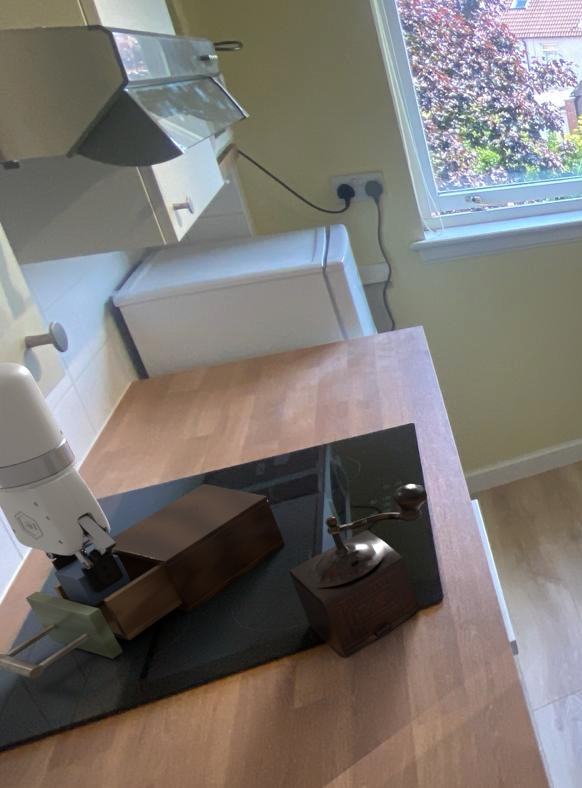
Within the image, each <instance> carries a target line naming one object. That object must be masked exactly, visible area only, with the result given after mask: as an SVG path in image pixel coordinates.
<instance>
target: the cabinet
mask: <svg viewBox="0 0 582 788" xmlns="http://www.w3.org/2000/svg"><path fill="white" fill-rule="evenodd" d="M111 538H112V539H113V540H114V541H115V543H116V546H115V547H114V548H113V549H112V551H113V552H114V553H118V554H122V555H126V556H130V557H134V558H138V559H142V560H146V561H151V562H155V563H159V564H163V565H164V567H165V569H166V571H167V573H168V575H169V577H170V579H171V581H172V583H173V585H174V587H175V589H176V591H177V593H178V595H179V597H180V599H181V601H182V604H180V605H179V606H177V607H176V608H175V610H179V611H182V612H186V613H190V614H191V613H193V612H194V611H196V610H197V609H198V608H199V607H201V606H202V605H203V604H205V603H207V602H208V601H210V600H211V599H212V598H213V597H214V596H216V595H217V594H219V593H220V592H222V591H223V590H224V589H226V588H227V587H228V586H230V585H231V584H232V583H234V582H236V581H237V580H238V579H239V578H241V577H242V576H243V575H245V574H246V573H248V572H249V571H250V570H252V569H254V568H255V567H256V566H257V565H259V564H260V563H261V562H263V561H264V560H265V559H267V558H269V557H270V556H271V555H272V554H274V553H275V552H277V551H278V550H280V549H281V548H283V546H285V545H286V542H285V540H284V538H283V535H282V533H281V530H280V528H279V525H278V523H277V520H276V517H275V515H274V512H273V510H272V508H271V505H270V503H269V500H268V498H267V496H266V495H261V494H256V493H251V492H246V491H241V490H237V489H230V488H226V487H221V486H216V485H212V484H206V483H203V484H202V485H200V486H198V487H197V488H194V489H193V490H190V492H188V493H186V494H184V495H182V496H181V497H179V498H177V499H175V500H174V501H172V502H170V503H169V504H167V505H166V506H164V507H162V508H160V509H158V510H157V511H155V512H153V513H152V514H150V515H148V516H146V517H145V518H143V519H141V520H139V521H138V522H136V523H134V524H133V525H131V526H129V527H128V528H126V529H125V530H122V531H121V532H119V533H117V534H116V535H114V536H112V537H111Z"/></svg>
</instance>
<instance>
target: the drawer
mask: <svg viewBox="0 0 582 788" xmlns="http://www.w3.org/2000/svg"><path fill="white" fill-rule="evenodd" d="M113 553H114V552H113ZM113 555H117V556H118V558H119V559H120V561H121V563H122V565H123V567H124V569H125V571H126V573H127V575H128V576H129V578H130V580H131V582H130V583H129V584H127V585H126V586H124V587H123V588H121V589H120V590H118V591H116V592H115V593H113V594H112V595H110V596H109V597H107V598H106V599H104V600H103V601H101V602H100V603H98V604H97V605H95V606H91V605H87V604H84V603H80V602H76V601H73V600H70V599H69V598H68V596H67V594H66V593H65V591H64V589H63V587H62V586H61V584H60V582H58V583H56V584H55V585H54V586H53V589H54V590H55V593H57V596H54V595H51V594H47V593H44V592H40V591H35V592H33V593H31V594H30V595H27V596H26V597H25V599H26V601H27V603H28V604H29V607H30V608H31V610H32V611H33V613H34V614H35V616H36V618H37V619H38V621H39V623H40V624H41V626H42V628H43V629H42V630H41V631H39V632H37V633H36V634H34V635H32V636H31V637H30V638H28V639H26V640H25V641H23V642H21V643H20V644H18V645H17V646H15V647H13V648H12V649H11V650H9V651H8V652H6V653H5V654H4V653H0V669H1V670H4V671H7V672H11V673H13V674H16V675H20V676H23V677H26V678H29V679H37V678H39V677H41V676H42V675H43V673H44V671H45V669H46V668H48V667H49V666H50V665H52V664H53V663H55V662H56V661H58V660H59V659H60V658H62V657H64V656H65V655H67V654H68V653H70V652H71V651H73V650H74V649H79V650H83V651H86V652H90V653H93V654H96V655H100V656H103V657H107V658H109V659H114V658H116V657H117V656H119V655H120V654H122V653H124V652H123V649H122V647H121V645H120V643H119V642H118V640H117V639H116V638H119V639H122V640H126V641H131V640H132V639H133V638H135V637H137V636H138V635H139V634H141V633H142V632H143V631H145V630H146V629H148V628H149V627H151V626H152V625H154V624H155V623H156V622H158V621H159V620H161V619H162V618H163V617H165V616H166V615H168V614H170V612H172V611H174V609H175V608H176V607H177V606H179V605H180V604H182V601H181V599H180V597H179V595H178V593H177V591H176V589H175V587H174V585H173V583H172V581H171V579H170V577H169V575H168V573H167V571H166V569H165V567H164V565H163V564H159V563H155V562H151V561H146V560H142V559H138V558H134V557H130V556H126V555H122V554H118V553H114V554H113ZM175 610H176V609H175ZM46 636H48V637H49V639H50V641H53V642H55V643H60V644H63V645H65V646H64V647H62V648H61V649H59V650H58V651H56V652H55V653H53V654H52V655H50V656H49V657H47V658H46V659H44V660H43V661H42V662H40V663H39V664H36V663H33V662H29V661H26V660H22V659H20V658H17V657H15V656H16V655H18V654H19V653H21V652H23V651H24V650H25V649H27V648H28V647H30V646H32V645H33V644H35V643H37V642H38V641H40V640H41V639H43V638H45V637H46Z"/></svg>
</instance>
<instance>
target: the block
mask: <svg viewBox="0 0 582 788" xmlns="http://www.w3.org/2000/svg"><path fill="white" fill-rule="evenodd" d="M89 553H90V551H89V552H88V553H87V555H88V556H89ZM113 556H114V558H115V560H116V562H117V564H118V565H119V567H120V569H121V571H122V573H123V575H124V576H123V578H122V579H121V580H119V581H117V582H116V583H114V584H113V585H111V586H110V587H108V588H106V589H105V590H103V591H102V592H100V593H96V592H93V590H92V588H91V586H90V585H89V583H88V581H87V579H86V578H85V576H84V574H83V572H82V570H81V569H82V568H83V567H84V566H83V564H82V563H81V562H80V560H79V559H77V560H75V561H74V562H72V563H70V564H69V565H67V566H65V567H63V568H62V569H60V570H58V571H57V570H56V571H55V572H54V573H53V574H54V576H55V577H56V579H57V581H58V583H60V584H61V586H62V587H63V589H64V591H65V593H66V594H67V596H68V598H69V599H70V600H73V601H76V602H80V603H84V604H87V605H91V606H95V605H97V604H98V603H100V602H101V601H103V600H104V599H106V598H107V597H109V596H110V595H112V594H113V593H115V592H116V591H118V590H120V589H121V588H123V587H124V586H126V585H127V584H129V583H130V582H131V580H130V578H129V576H128V575H127V573H126V571H125V569H124V567H123V565H122V563H121V561H120V559H119V558H118V556H117V555H113Z"/></svg>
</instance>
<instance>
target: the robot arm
mask: <svg viewBox="0 0 582 788" xmlns="http://www.w3.org/2000/svg"><path fill="white" fill-rule="evenodd" d="M39 387H40V386H39V385H38V383H37V381H36V379H35V377H34V376H33V374H32V373H31V371H30V370H29V369H28V368H27V367H25V365H22V364H20V363H16V362H11V361H9V362H6V361H3V362H0V509H1V510H2V512H3V515H4V517H5V519H6V521H7V523H8V526H9V527H10V529H11V531H12V532H13V534H14V536H15V538H16V539H17V541H18V542H19V543H20V544H21V545H22V546H25V547H27V548H32V549H35V550H37V551H38V550H39V551H43V552H44V553H45V556H46V557H47V558H48V559H49V560H51V564H52V565H53V567H54V569H55V570H56V572H57V571H58V570H60V569H62V568H63V567H65V566H67V565H69V564H70V563H72V562H74V561H75V560H77V559H79V560H80V562H81V563H82V564H83V566H84V567H83V568H82V569H81V570H82V572H83V574H84V576H85V578H86V579H87V581H88V583H89V585H90V586H91V588H92V590H93V592H96V593H100V592H102V591H103V590H105V589H106V588H108V587H110V586H111V585H113V584H114V583H116V582H117V581H119V580H121V579H122V578H123V576H124V575H123V573H122V571H121V569H120V567H119V565H118V564H117V562H116V560H115V558H114V556H113V554H114V553H113V551H112V549H113V548H114V547H115V546H116V543H115V541H114V540H113V539H112V537H111V536H110V535H109V534H110V532H111V525H110V523H109V521H108V519H107V515H106V514H105V512H104V510H103V509H102V507H101V505H100V504H99V502H98V500H97V499H96V497H95V495H94V493H93V492H92V490H91V489H90V487H89V486H88V484H87V483H86V482H85V480H84V479H83V477H82V476H81V474H80V473H79V472H78V470H77V469H76V467H75V466H76V464H77V461H78V459H77V457H76V456H75V453H74V452H73V450H72V448H71V446H70V444H69V442H68V441H67V439H66V437H65V434H64V433H63V430H62V429H61V428H60V426H59V423H58V422H57V419H56V418H55V415H54V414H53V412H52V410H51V408H50V406H49V404H48V403H47V400H46V398H45V397H44V395H43V392H42V391H41V389H40V388H39ZM84 538H87V539H85V540H84ZM92 545H94V548H93V549H92V550H91V551H89V552H90V553H89V552H88V553H89V556H88V555H87V551H86V549H87V548H88V547H91V546H92Z"/></svg>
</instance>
